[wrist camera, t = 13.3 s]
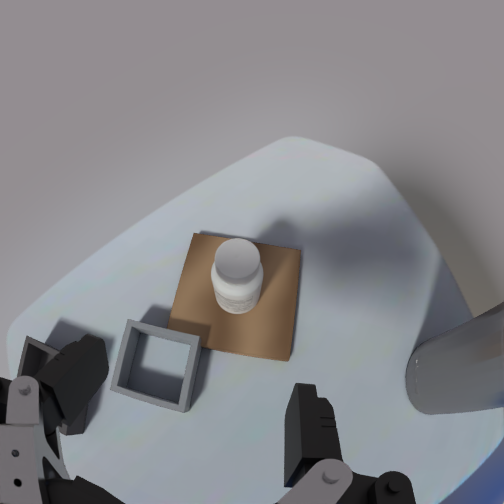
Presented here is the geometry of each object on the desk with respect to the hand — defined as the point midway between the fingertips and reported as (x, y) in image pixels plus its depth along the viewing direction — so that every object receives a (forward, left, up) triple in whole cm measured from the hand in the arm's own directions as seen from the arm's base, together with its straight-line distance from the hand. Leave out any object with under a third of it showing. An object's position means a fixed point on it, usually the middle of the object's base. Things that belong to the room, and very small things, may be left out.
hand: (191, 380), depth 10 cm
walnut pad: (0, -10, -16) cm, 19 cm away
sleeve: (+6, -1, -16) cm, 17 cm away
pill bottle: (0, -10, -15) cm, 18 cm away
